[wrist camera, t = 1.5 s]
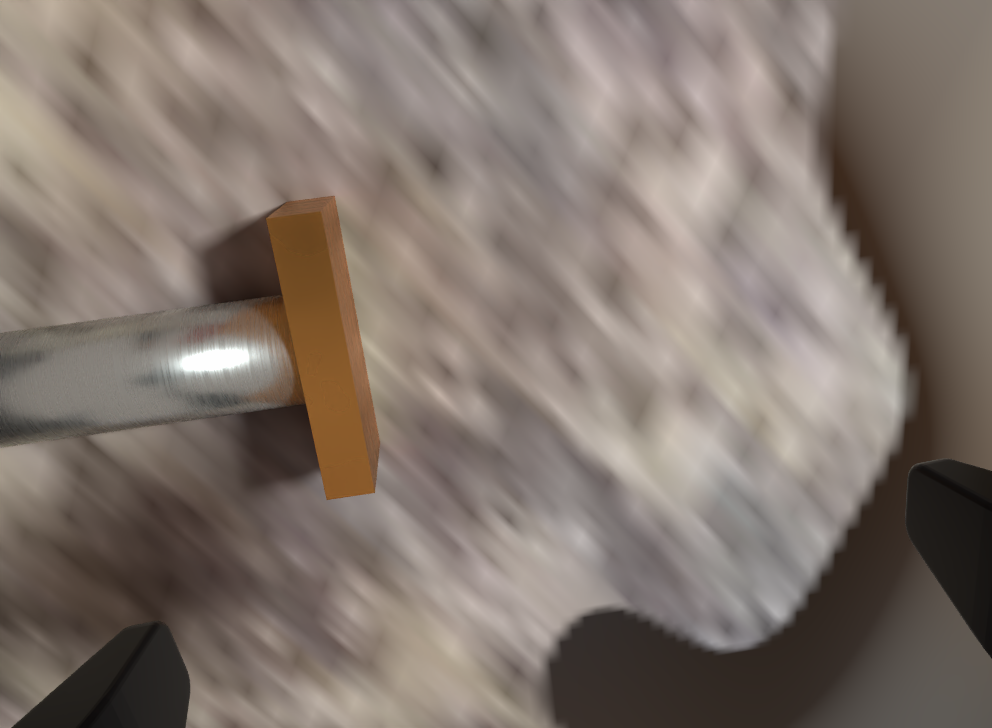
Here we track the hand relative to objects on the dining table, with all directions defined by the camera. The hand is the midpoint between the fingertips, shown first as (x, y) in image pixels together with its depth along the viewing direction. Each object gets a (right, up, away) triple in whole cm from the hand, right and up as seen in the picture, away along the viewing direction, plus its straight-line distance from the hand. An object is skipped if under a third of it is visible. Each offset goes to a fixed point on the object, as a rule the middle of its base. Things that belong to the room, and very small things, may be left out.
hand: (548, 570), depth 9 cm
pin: (-9, +3, +11) cm, 15 cm away
